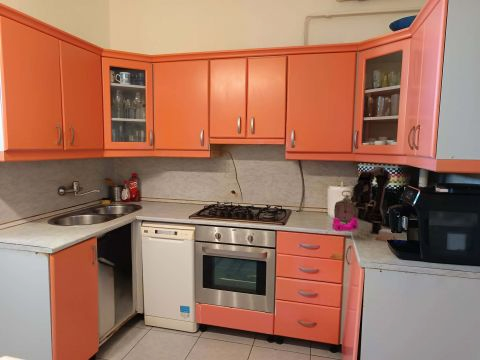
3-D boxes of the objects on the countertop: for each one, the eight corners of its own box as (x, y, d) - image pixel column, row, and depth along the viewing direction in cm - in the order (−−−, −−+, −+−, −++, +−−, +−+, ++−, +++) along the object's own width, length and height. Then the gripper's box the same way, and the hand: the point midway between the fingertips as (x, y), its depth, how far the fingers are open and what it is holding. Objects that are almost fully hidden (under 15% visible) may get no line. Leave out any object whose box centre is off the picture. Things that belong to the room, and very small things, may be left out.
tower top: (382, 233, 190) (382, 228, 190) (395, 235, 186) (395, 230, 185) (378, 235, 185) (378, 230, 185) (391, 237, 180) (391, 232, 180)
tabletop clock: (333, 226, 220) (334, 190, 218) (337, 223, 228) (338, 189, 226) (355, 228, 212) (356, 192, 210) (358, 226, 220) (359, 190, 217)
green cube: (362, 236, 193) (362, 229, 192) (369, 238, 190) (369, 230, 189) (359, 238, 190) (359, 230, 189) (366, 239, 187) (367, 232, 186)
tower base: (380, 237, 192) (381, 232, 192) (396, 240, 187) (396, 235, 186) (375, 240, 186) (375, 235, 186) (391, 243, 180) (392, 238, 180)
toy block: (335, 231, 207) (336, 219, 206) (332, 228, 213) (333, 217, 212) (358, 231, 207) (358, 219, 207) (354, 228, 213) (355, 217, 213)
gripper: (358, 190, 200) (357, 214, 201) (346, 192, 186) (345, 218, 187) (376, 191, 192) (375, 216, 193) (366, 193, 178) (364, 220, 179)
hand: (365, 218), depth 188 cm, fingers open, 9 cm apart
